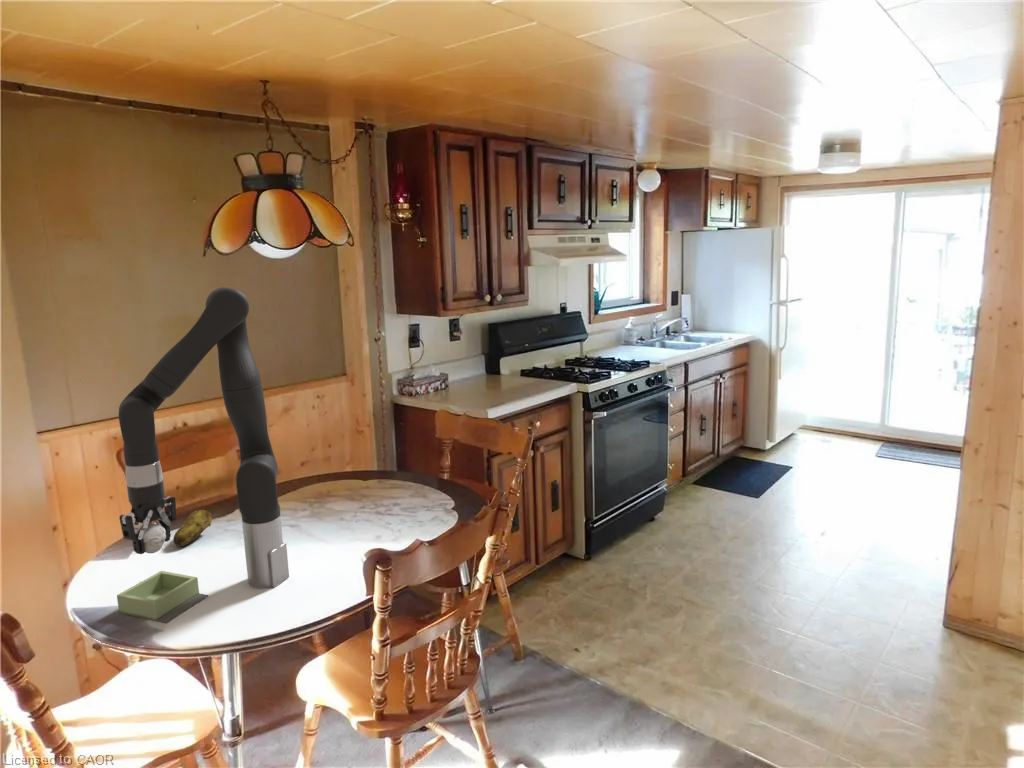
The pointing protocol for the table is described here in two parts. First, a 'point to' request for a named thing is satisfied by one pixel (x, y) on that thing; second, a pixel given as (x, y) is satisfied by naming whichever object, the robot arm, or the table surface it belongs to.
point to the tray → (160, 597)
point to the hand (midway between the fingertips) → (153, 546)
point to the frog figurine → (154, 537)
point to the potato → (192, 527)
